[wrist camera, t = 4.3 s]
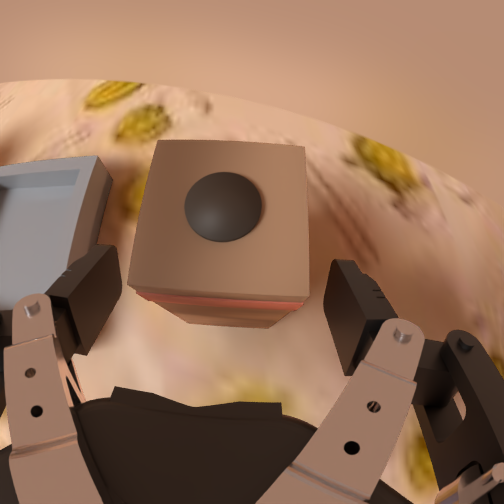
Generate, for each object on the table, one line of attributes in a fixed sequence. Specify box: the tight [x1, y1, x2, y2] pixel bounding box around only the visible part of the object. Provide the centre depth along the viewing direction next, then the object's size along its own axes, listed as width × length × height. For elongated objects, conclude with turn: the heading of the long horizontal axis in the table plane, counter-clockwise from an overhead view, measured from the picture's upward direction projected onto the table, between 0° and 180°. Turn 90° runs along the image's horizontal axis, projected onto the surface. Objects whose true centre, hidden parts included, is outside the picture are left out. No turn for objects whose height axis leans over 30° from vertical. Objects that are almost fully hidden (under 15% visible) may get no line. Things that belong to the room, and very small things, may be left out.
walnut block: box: [127, 140, 309, 328], centre depth 12 cm, size 5×5×10 cm
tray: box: [0, 156, 113, 354], centre depth 16 cm, size 12×12×3 cm
